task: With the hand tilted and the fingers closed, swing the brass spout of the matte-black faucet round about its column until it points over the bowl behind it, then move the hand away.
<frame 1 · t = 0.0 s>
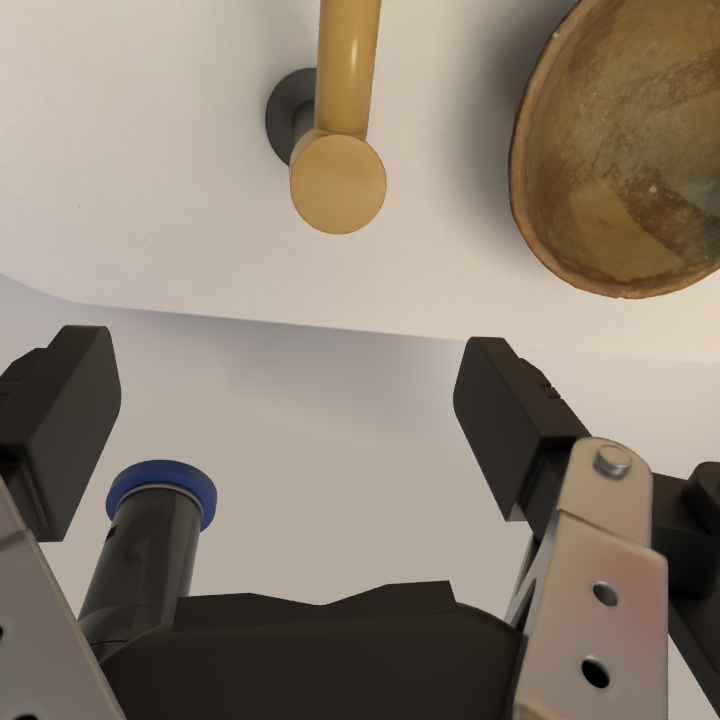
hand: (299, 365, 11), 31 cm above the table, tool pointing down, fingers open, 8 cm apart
bowl: (596, 125, 39), on the table
spout: (347, 11, 18), point 18 cm above the table, hinge at 0.0°
faucet: (313, 122, 36), on the table
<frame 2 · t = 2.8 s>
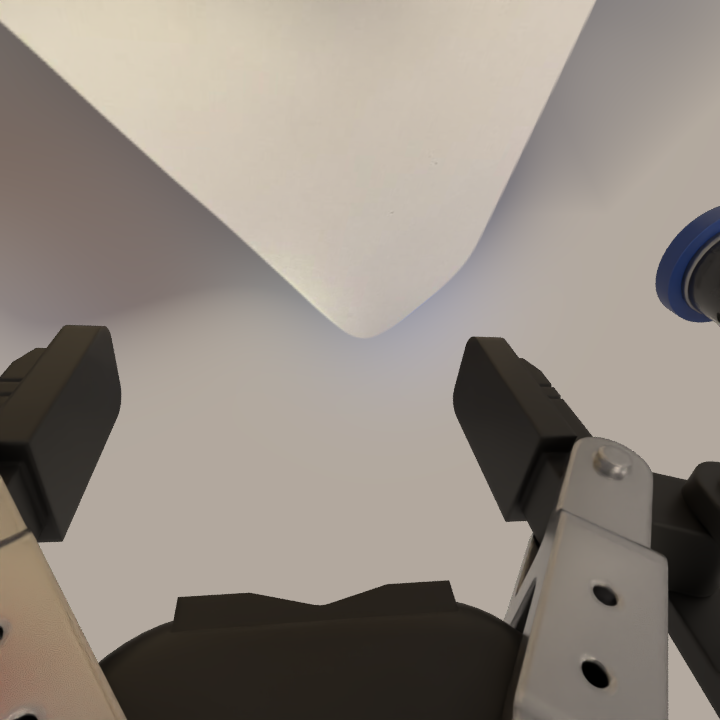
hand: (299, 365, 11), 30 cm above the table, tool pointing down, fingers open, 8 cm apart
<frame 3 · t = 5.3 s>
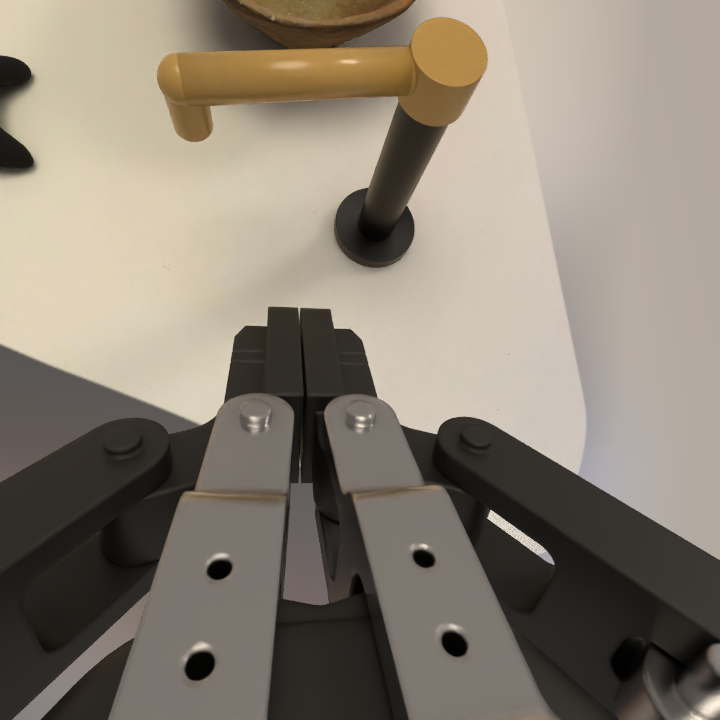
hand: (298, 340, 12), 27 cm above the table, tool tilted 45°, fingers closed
bowl: (306, 13, 46), on the table
spout: (327, 89, 25), point 17 cm above the table, hinge at 0.0°
faucet: (373, 230, 43), on the table
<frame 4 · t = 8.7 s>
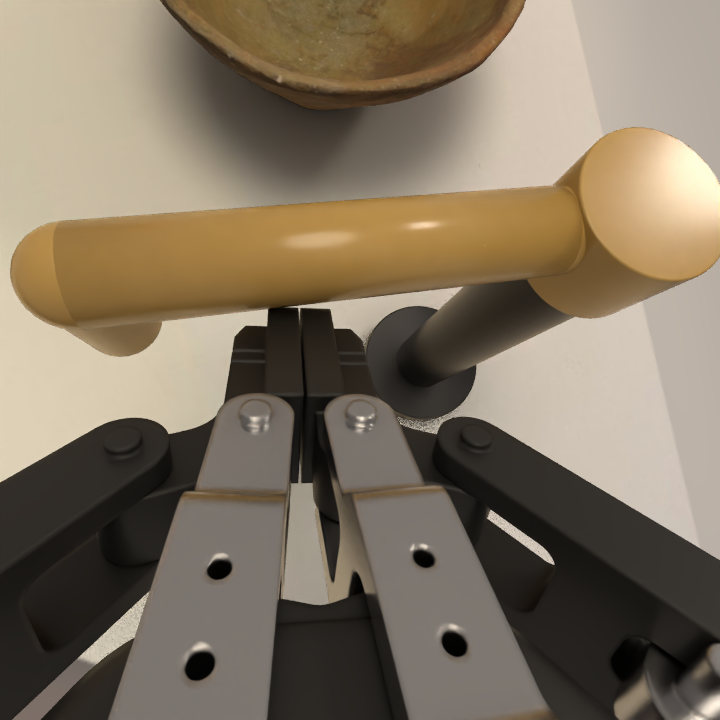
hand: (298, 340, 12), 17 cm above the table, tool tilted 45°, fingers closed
bowl: (323, 55, 34), on the table
spout: (391, 263, 12), point 17 cm above the table, hinge at -0.5°, touching gripper
faucet: (416, 364, 30), on the table
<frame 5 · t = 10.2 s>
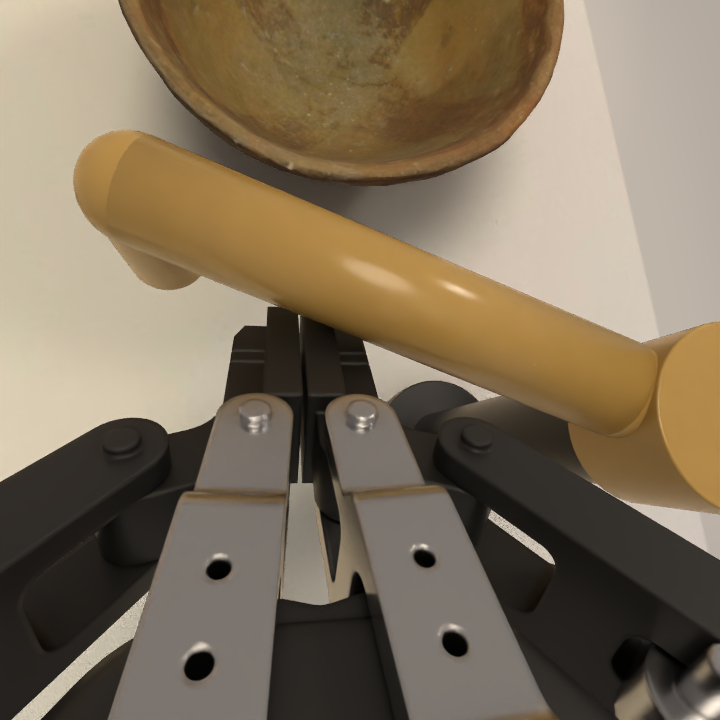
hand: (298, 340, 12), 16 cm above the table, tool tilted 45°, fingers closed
bowl: (332, 103, 32), on the table
spout: (438, 332, 11), point 18 cm above the table, hinge at -30.5°, touching gripper
faucet: (431, 441, 29), on the table
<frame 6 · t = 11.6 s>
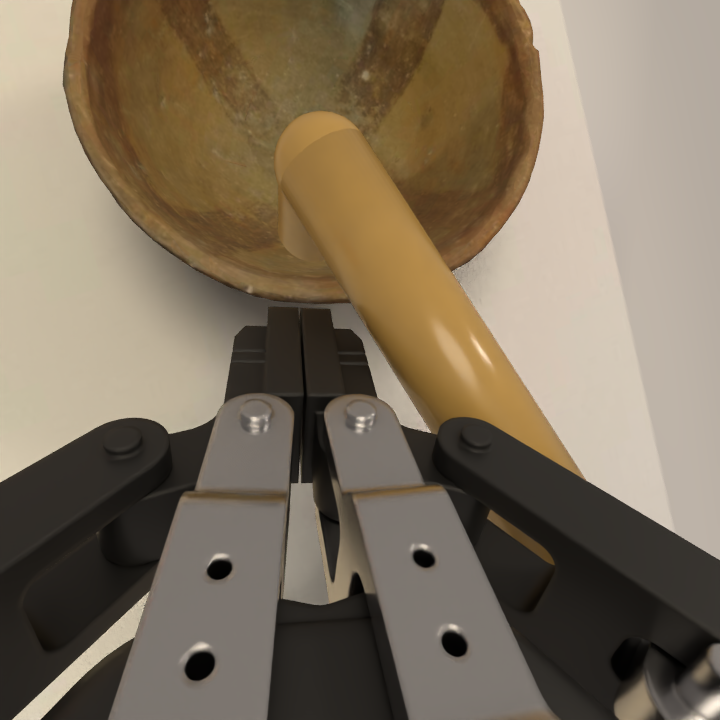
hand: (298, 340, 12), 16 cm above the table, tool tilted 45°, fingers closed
bowl: (310, 180, 31), on the table
spout: (473, 435, 11), point 18 cm above the table, hinge at -68.4°, touching gripper
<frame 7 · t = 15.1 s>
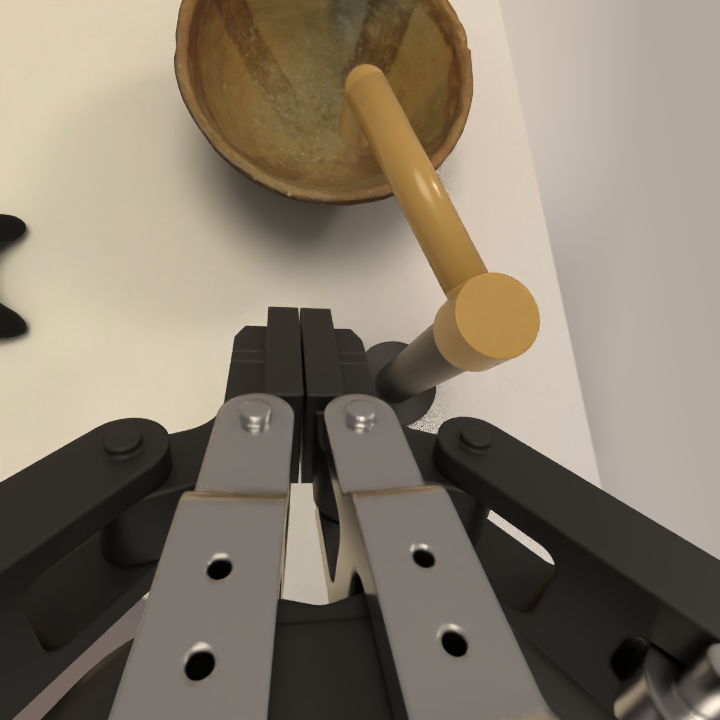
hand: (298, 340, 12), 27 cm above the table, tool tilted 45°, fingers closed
bowl: (319, 143, 44), on the table
spout: (422, 221, 24), point 18 cm above the table, hinge at -75.4°
faucet: (391, 385, 40), on the table
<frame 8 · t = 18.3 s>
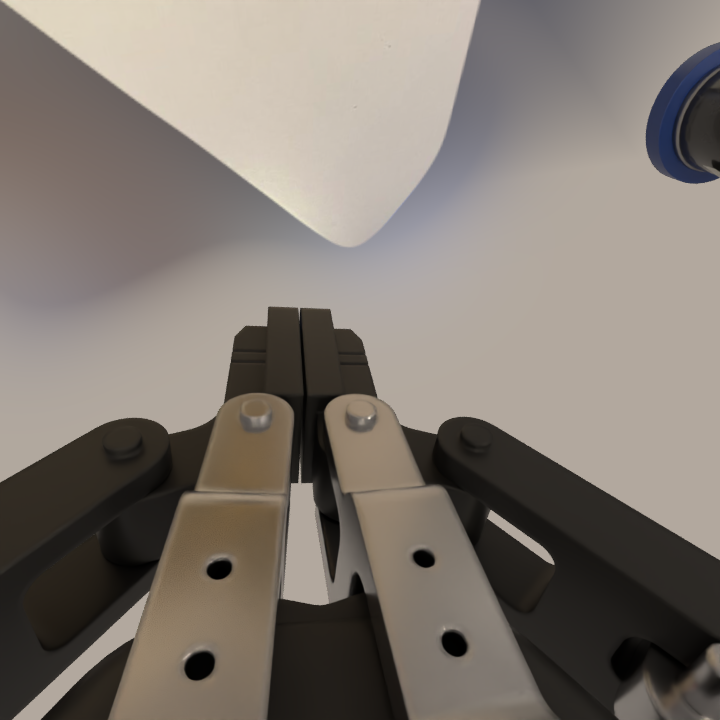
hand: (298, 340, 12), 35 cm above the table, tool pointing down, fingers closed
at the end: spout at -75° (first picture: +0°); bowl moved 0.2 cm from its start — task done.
